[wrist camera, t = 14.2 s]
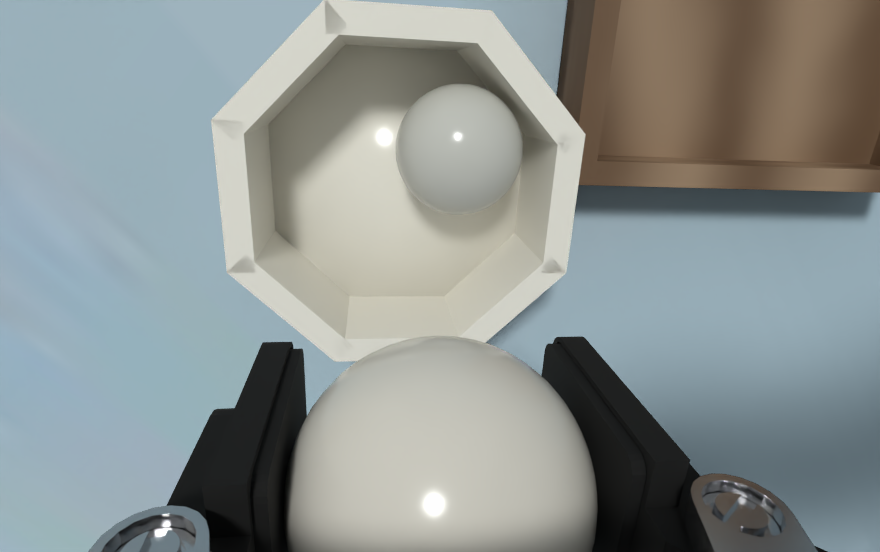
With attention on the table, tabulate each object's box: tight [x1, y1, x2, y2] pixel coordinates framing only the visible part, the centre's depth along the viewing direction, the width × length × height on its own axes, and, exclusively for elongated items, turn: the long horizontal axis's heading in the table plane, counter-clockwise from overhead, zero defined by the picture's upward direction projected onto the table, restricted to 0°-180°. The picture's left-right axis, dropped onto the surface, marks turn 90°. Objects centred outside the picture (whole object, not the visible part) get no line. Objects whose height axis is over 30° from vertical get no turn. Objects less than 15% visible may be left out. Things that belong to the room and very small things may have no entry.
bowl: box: [211, 0, 586, 362], centre depth 21 cm, size 13×13×5 cm
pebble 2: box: [284, 336, 598, 552], centre depth 8 cm, size 5×5×5 cm
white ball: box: [395, 84, 523, 215], centre depth 20 cm, size 5×5×5 cm
